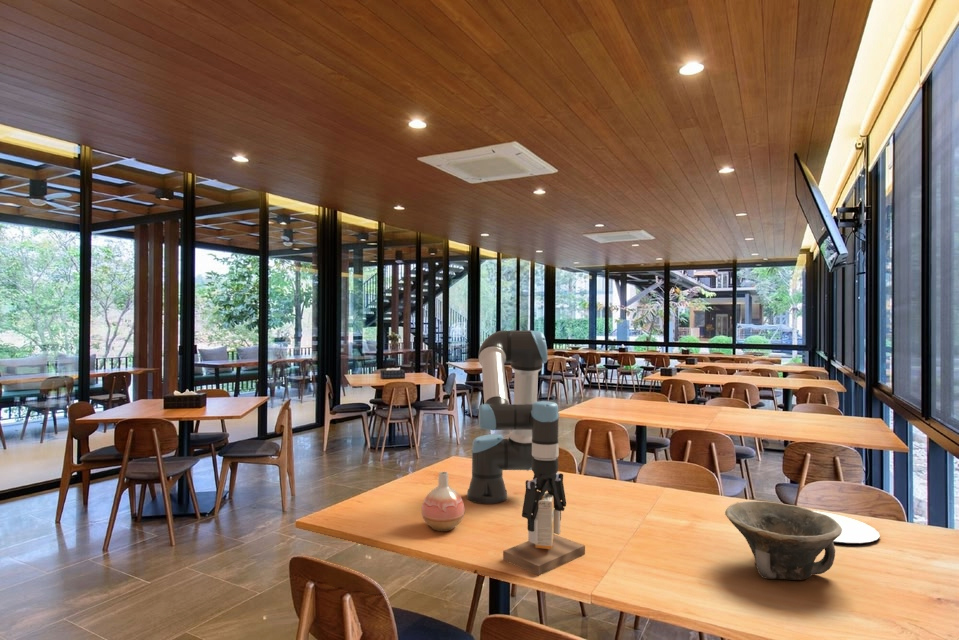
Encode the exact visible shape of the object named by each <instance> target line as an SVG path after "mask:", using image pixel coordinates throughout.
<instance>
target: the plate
mask: <svg viewBox="0 0 959 640" xmlns="http://www.w3.org/2000/svg"><path fill="white" fill-rule="evenodd" d="M813 511H814V512H817V513H821V514H825V515H827V516H829V517H831V518H832V519H834V520H835V521H836V522H837V523H839V525H840V526H841V528H842V533H841V535H840V536H839V537H837V538H836V539H835V540H834V541H833V543H839V544H845V545H846V544H852V545H854V544H856V545H857V544H860V545H861V544H870V543H873V542H875V541H878V540H879V539H880V537H881V535H880V533H879V531H877V530H876V528H874V527H873V526H871V525H868V523H865V522H862V521H860V520H857V519H854V518H850V517H847V516H844V515H839V514H835V513H831V512H830V513H829V512H822V511H817V510H813Z"/></svg>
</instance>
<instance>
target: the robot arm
mask: <svg viewBox="0 0 959 640" xmlns="http://www.w3.org/2000/svg"><path fill="white" fill-rule="evenodd" d="M548 357H549V356H548V346H547V341H546V337H545V334H544V333H543V332H542V331H540V330H529V329H528V330H526V329H525V330H499V331H495V332H494V333H491V334H490V335H489V336H487V337H486V339H484V341H483V342H482V343H481V345H480V346H479V350H478V362H479V364H480V366H481V372H482V386H483V387H482V388H483V400H484V401H483V402H484V403H483V404H479V406H478V427H479V428H480V429H481V430H489V431H499V430H500V431H508V430H509V431H510V430H511V431H510V432H509V433H508V438H504V436H503V435H502V434H498V433H497V434H496V433H491V434H485V435H479V436H477V437H476V438H474V439H473V441H472V445H471V446H472V447H471V453H472V455H471V456H472V457H471V458H472V459H471V479H470V484H469V486H468V489H467V492H466V495H467V496H466V498H467V500H469V501H471V502H473V503H477V504H484V505H487V504H491V505H493V504H498V503H503V502H505V501H507V499H508V491H507V489H506V484H505V481H504V478H503V473H504V472H503V471H527V472H529V471H532V472H533V477H532V479H531V480H529V479H528V480H525V483H524V484H525V492H524V498H523V505H522V512H521V517H522V518H524V519H526V520H527V527H526V529H527V531H528V540H527V541H529V542H532V543H535V544H537V543H538V519H535V518H536V515H537V512H538V508H539V500H541V499H542V496H544V494H545V493H548V494H552V495H553V497H554V534H555V535H557V536H560V535H561V520H562V512H564V511H565V507H566V506H567V499H566V494H565V492H566V491H565V487H564V474H563V473H560V472H559V458H558V457H559V455H560V453H559V418H560V413H559V405H558V404H557V403H556V402H554V401H548V400H547V401H545V400H543V401H542V400H541V401H540V400H539V401H538V383H539V382H538V381H539V372H540V371H541V370H542V369H543V364H546V363H548ZM505 363H508V364H509V363H510V369H512V370H513V371H514V383H513V384H514V385H513V386H514V387H513V388H514V389H513V404H511V403H510V404H509V395H508V387H507V380H506V369H505ZM535 501H536V502H535Z"/></svg>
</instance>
